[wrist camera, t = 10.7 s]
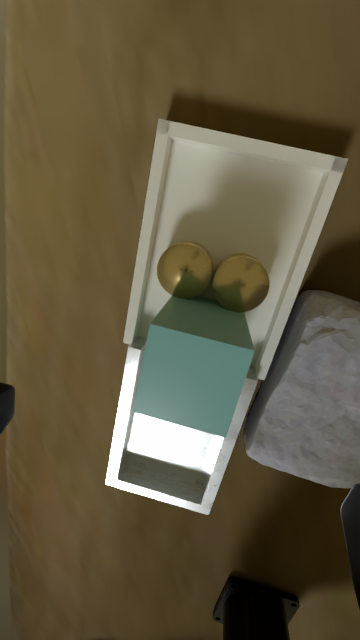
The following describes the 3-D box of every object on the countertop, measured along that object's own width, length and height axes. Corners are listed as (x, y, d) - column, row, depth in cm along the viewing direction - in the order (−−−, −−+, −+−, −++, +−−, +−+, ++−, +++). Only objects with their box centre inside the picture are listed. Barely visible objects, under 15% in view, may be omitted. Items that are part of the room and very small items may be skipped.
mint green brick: (242, 306, 18) (254, 350, 11) (224, 366, 19) (226, 438, 13) (176, 289, 18) (149, 323, 12) (162, 350, 19) (132, 412, 13)
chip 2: (257, 307, 18) (260, 317, 16) (209, 297, 18) (207, 306, 16) (271, 258, 17) (276, 263, 15) (219, 248, 17) (219, 252, 15)
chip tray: (261, 369, 19) (264, 380, 18) (129, 334, 20) (123, 342, 19) (337, 163, 15) (348, 159, 14) (164, 126, 16) (158, 118, 14)
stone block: (435, 309, 18) (288, 276, 17) (519, 347, 14) (330, 306, 13) (349, 444, 23) (229, 426, 22) (392, 504, 19) (245, 486, 18)
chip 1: (211, 291, 18) (210, 299, 16) (163, 289, 18) (157, 297, 17) (214, 241, 17) (212, 244, 15) (163, 240, 17) (156, 242, 16)
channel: (210, 490, 24) (208, 515, 22) (115, 462, 24) (105, 484, 22) (254, 364, 19) (257, 381, 17) (138, 333, 20) (128, 346, 18)
